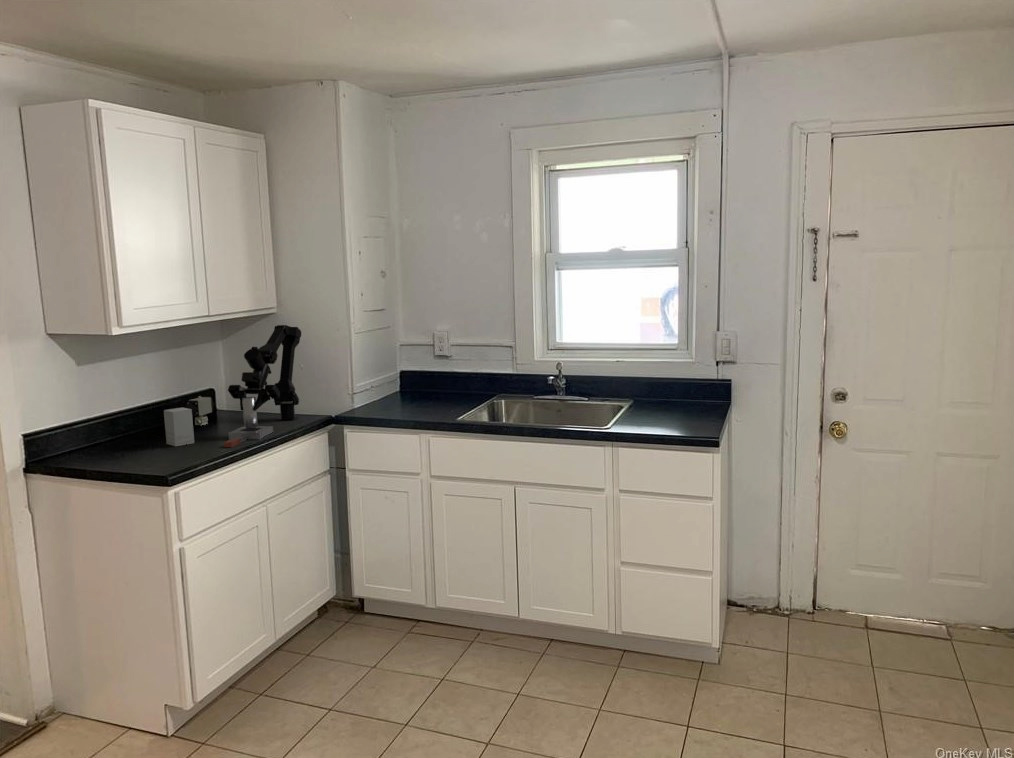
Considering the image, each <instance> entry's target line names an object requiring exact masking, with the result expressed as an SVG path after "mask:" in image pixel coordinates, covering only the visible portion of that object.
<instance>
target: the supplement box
mask: <svg viewBox="0 0 1014 758" xmlns="http://www.w3.org/2000/svg"><path fill="white" fill-rule="evenodd" d="M163 418H164V430H165V439H166V440H165V441H166V442H165V443H166V445H169V446H173V447H180V446H185V445H186V444H187V445H191V444H195V433H194V432H195V431H194V424H193V423H194V422H193V416H192V409H188V408H186V407H175V408H169V409H164V410H163Z"/></svg>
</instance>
